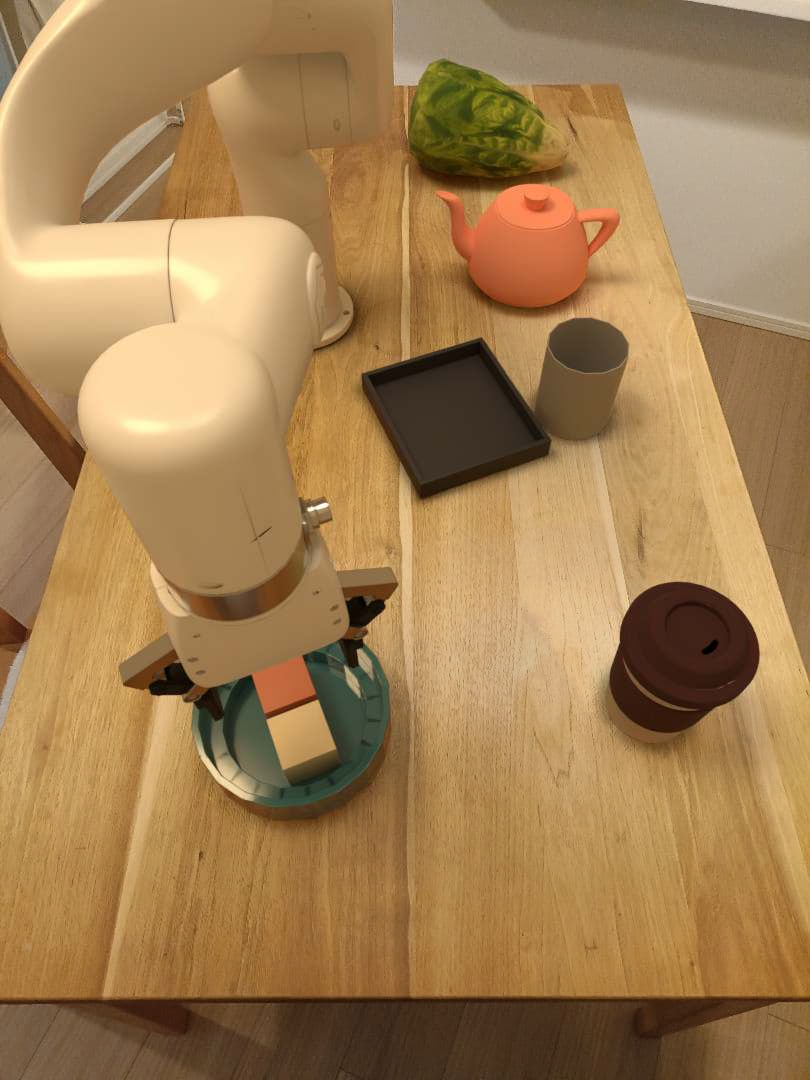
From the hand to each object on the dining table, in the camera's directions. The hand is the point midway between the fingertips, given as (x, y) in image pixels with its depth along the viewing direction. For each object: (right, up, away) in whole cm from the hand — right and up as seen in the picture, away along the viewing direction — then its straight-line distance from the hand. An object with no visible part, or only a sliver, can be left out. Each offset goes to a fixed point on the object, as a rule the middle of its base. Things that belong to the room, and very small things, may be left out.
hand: (282, 674), depth 53 cm
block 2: (0, -9, +12) cm, 15 cm away
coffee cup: (+30, -5, +15) cm, 34 cm away
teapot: (+23, +43, +46) cm, 67 cm away
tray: (+14, +23, +33) cm, 42 cm away
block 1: (-2, -5, +15) cm, 16 cm away
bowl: (-1, -7, +14) cm, 16 cm away
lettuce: (+21, +64, +60) cm, 90 cm away
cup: (+27, +24, +34) cm, 50 cm away
